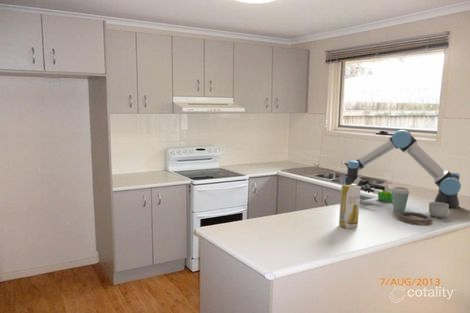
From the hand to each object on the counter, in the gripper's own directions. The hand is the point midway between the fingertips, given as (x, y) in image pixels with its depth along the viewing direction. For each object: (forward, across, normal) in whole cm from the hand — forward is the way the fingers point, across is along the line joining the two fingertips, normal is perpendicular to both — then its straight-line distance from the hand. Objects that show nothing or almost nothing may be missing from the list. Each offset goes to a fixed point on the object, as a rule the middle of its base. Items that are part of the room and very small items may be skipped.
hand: (385, 191), depth 247 cm
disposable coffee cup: (+11, 0, -11) cm, 15 cm away
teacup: (+27, -15, -10) cm, 33 cm away
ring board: (+28, +7, -10) cm, 31 cm away
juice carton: (+23, +54, -11) cm, 60 cm away
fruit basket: (-13, -16, -11) cm, 23 cm away
